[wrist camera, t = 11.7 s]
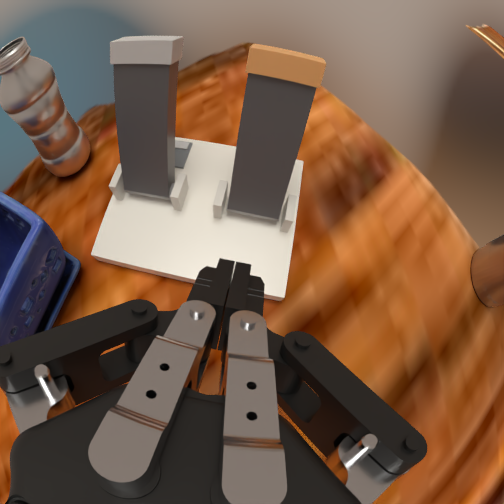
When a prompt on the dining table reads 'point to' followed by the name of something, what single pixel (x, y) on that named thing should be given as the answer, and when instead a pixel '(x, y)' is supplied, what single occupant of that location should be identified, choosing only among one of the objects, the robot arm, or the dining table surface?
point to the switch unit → (197, 223)
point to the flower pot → (30, 272)
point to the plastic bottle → (41, 109)
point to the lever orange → (271, 128)
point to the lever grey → (146, 111)
